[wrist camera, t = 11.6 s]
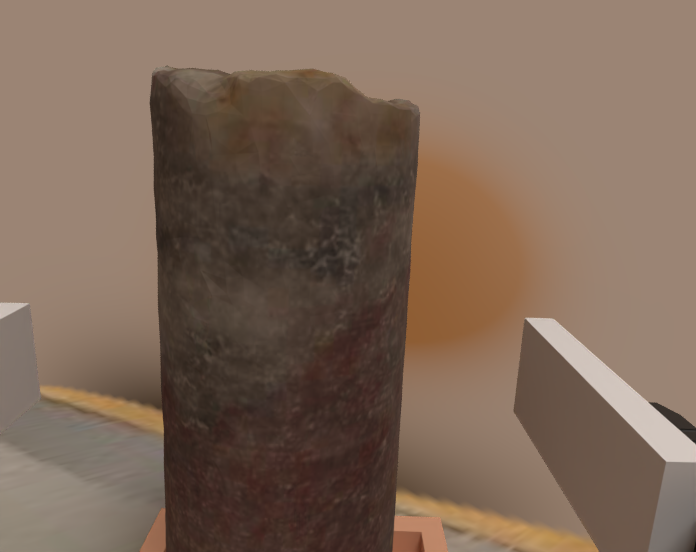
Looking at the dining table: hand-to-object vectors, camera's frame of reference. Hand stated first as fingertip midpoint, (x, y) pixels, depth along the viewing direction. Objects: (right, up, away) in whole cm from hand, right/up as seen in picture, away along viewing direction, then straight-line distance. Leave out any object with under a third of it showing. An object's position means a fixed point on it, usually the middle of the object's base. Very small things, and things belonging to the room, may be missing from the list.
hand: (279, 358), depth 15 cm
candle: (0, -12, +5) cm, 13 cm away
